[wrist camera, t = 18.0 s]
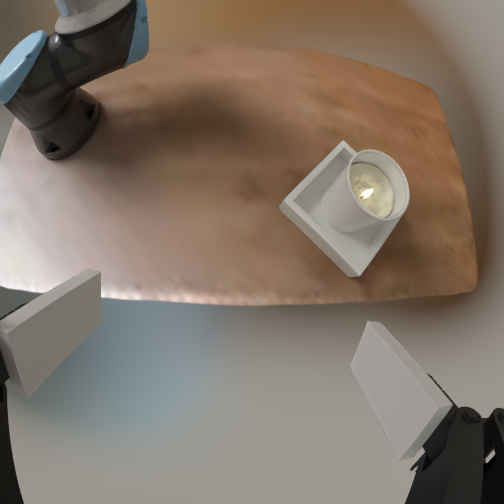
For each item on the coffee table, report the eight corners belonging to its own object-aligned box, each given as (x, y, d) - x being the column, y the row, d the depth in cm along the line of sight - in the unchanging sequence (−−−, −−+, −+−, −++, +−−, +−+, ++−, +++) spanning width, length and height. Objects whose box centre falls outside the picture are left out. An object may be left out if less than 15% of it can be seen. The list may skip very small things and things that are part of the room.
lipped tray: (277, 208, 43) (283, 200, 39) (334, 150, 45) (343, 140, 41) (348, 277, 43) (359, 276, 39) (395, 212, 45) (407, 206, 41)
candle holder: (377, 223, 43) (420, 204, 31) (333, 247, 42) (371, 232, 30) (351, 173, 44) (386, 142, 32) (305, 192, 42) (333, 160, 31)
